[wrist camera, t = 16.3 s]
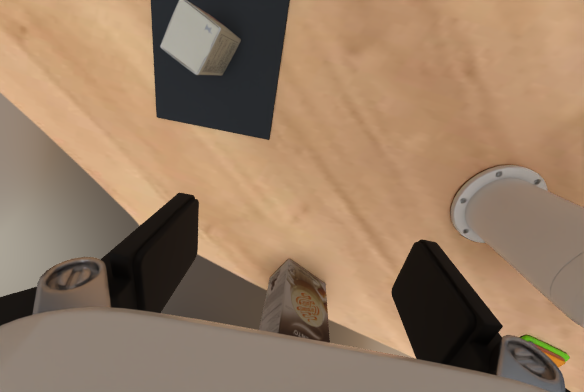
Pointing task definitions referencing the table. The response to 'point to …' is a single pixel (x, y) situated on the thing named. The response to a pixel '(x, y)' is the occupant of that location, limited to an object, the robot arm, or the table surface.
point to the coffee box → (296, 304)
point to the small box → (199, 40)
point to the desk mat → (237, 77)
